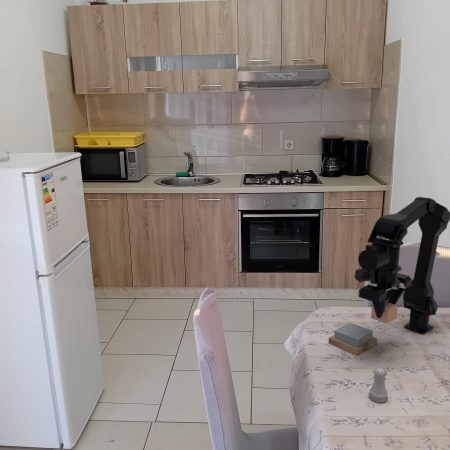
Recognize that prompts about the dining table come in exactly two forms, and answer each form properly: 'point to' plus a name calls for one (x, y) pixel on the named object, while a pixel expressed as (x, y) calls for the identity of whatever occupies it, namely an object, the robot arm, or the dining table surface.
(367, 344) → the walnut base block
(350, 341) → the slate top block
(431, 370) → the dining table surface
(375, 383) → the grey chess pawn
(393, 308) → the terracotta block
